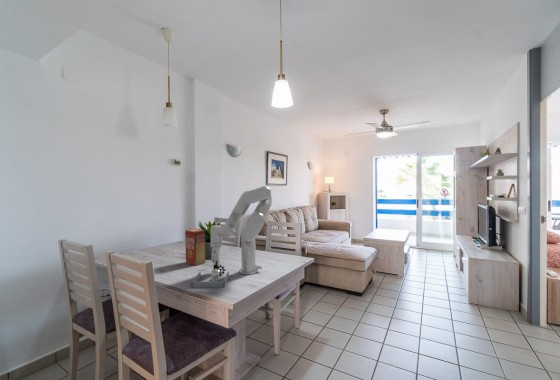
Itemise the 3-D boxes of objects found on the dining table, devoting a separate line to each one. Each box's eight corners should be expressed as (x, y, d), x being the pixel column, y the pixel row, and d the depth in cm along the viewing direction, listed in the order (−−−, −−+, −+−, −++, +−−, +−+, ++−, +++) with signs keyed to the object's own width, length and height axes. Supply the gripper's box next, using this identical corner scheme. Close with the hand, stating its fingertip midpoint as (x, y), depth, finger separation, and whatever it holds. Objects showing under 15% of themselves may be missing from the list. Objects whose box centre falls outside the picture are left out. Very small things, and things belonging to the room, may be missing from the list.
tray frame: (229, 276, 166) (229, 272, 166) (224, 287, 149) (224, 281, 149) (199, 277, 165) (199, 272, 165) (191, 287, 148) (191, 282, 148)
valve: (218, 281, 158) (225, 275, 169) (218, 270, 158) (225, 264, 169) (208, 280, 159) (216, 274, 170) (208, 270, 159) (216, 264, 170)
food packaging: (184, 262, 197) (184, 230, 197) (195, 260, 204) (195, 228, 204) (195, 266, 189) (195, 231, 189) (206, 263, 196) (205, 230, 196)
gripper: (219, 246, 165) (219, 275, 165) (224, 241, 180) (224, 268, 180) (207, 246, 165) (207, 275, 165) (213, 241, 180) (213, 268, 180)
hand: (216, 271), depth 173 cm, fingers closed
